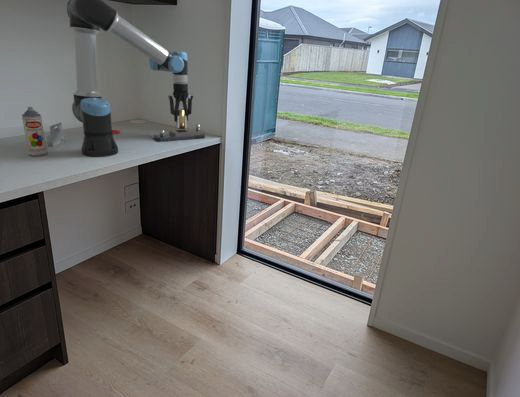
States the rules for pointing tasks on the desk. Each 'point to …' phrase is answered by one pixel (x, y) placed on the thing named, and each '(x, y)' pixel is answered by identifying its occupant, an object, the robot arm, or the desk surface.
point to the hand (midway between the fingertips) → (181, 127)
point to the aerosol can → (34, 133)
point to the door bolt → (181, 134)
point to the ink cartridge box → (55, 135)
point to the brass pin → (181, 118)
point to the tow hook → (115, 131)
